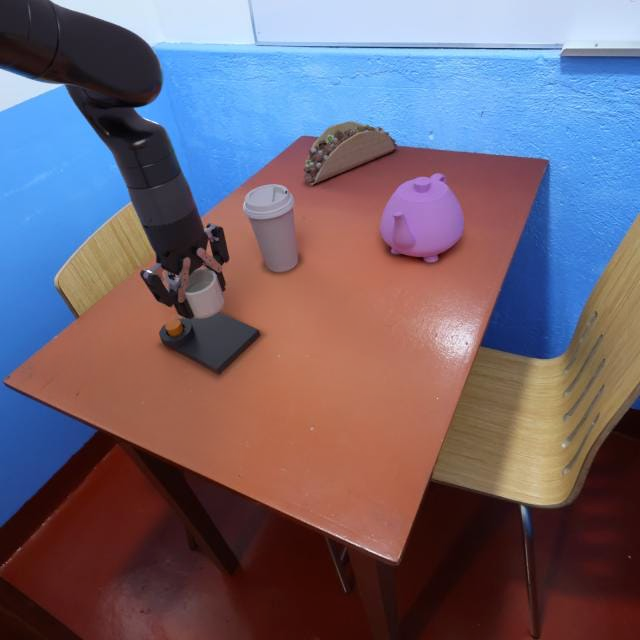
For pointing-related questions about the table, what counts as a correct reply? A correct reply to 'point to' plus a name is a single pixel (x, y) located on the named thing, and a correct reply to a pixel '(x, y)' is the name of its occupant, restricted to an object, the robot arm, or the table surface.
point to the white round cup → (204, 293)
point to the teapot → (422, 218)
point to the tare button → (174, 327)
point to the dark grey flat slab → (211, 340)
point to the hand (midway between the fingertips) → (204, 303)
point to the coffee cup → (273, 225)
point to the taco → (345, 149)
